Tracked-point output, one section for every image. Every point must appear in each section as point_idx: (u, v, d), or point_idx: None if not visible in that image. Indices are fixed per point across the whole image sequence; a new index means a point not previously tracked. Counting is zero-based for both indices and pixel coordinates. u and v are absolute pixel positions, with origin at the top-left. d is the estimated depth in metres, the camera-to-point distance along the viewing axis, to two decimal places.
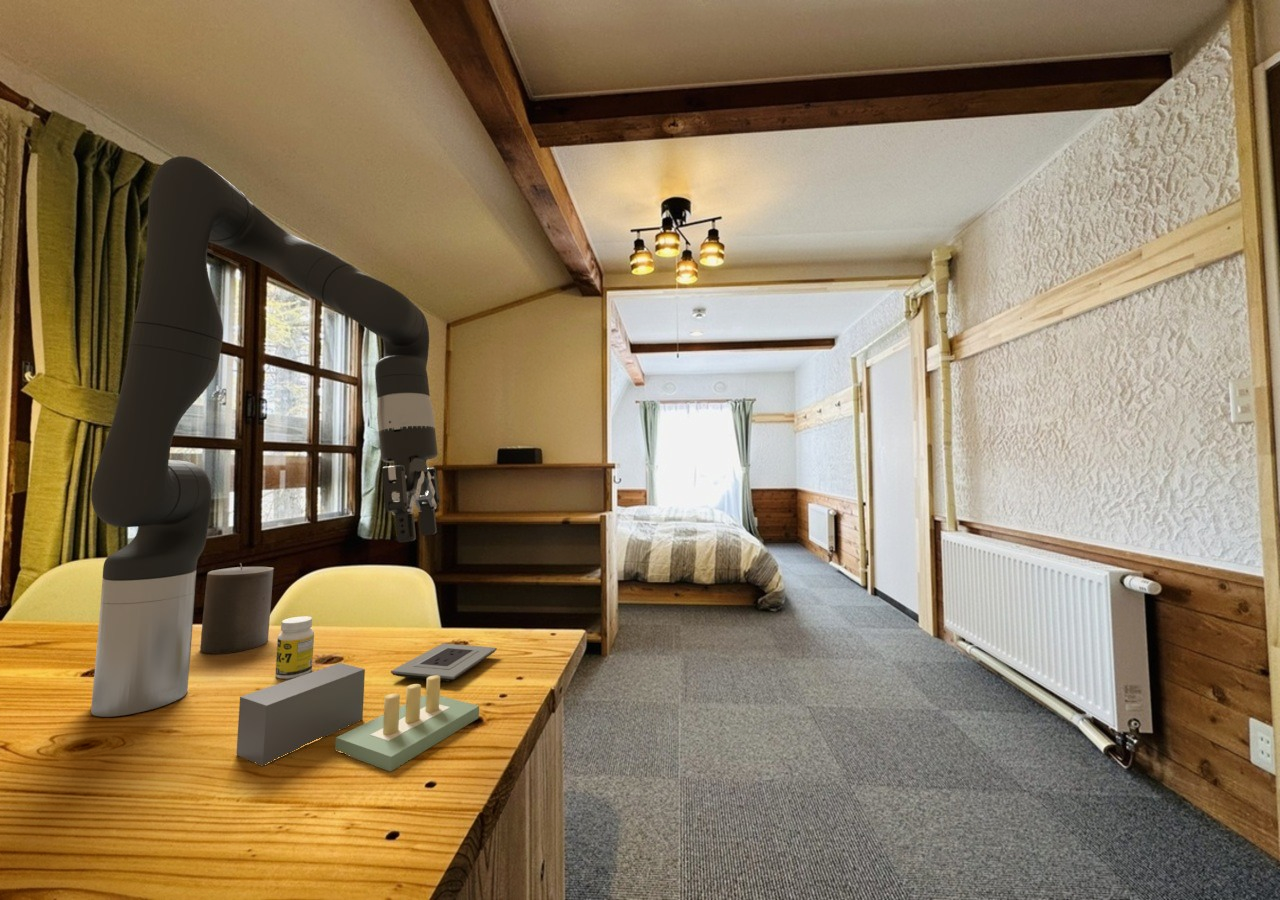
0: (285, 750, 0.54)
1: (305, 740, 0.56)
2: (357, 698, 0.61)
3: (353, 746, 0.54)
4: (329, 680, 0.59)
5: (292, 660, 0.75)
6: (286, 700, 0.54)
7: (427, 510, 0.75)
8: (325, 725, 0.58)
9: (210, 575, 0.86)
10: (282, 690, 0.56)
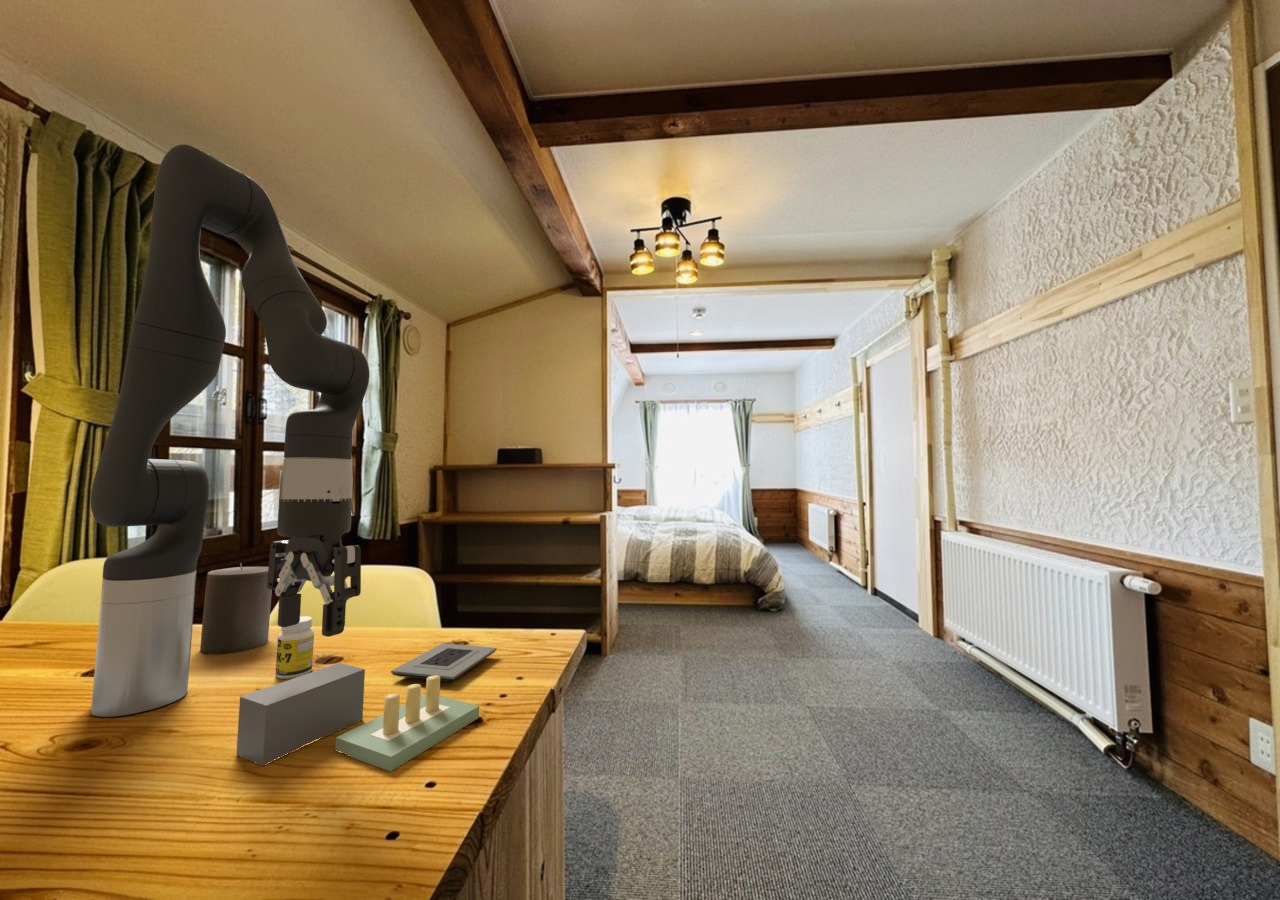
0: (285, 750, 0.54)
1: (305, 740, 0.56)
2: (357, 698, 0.61)
3: (353, 746, 0.54)
4: (329, 680, 0.59)
5: (292, 660, 0.75)
6: (286, 700, 0.54)
7: (293, 594, 0.61)
8: (325, 725, 0.58)
9: (210, 575, 0.86)
10: (282, 690, 0.56)
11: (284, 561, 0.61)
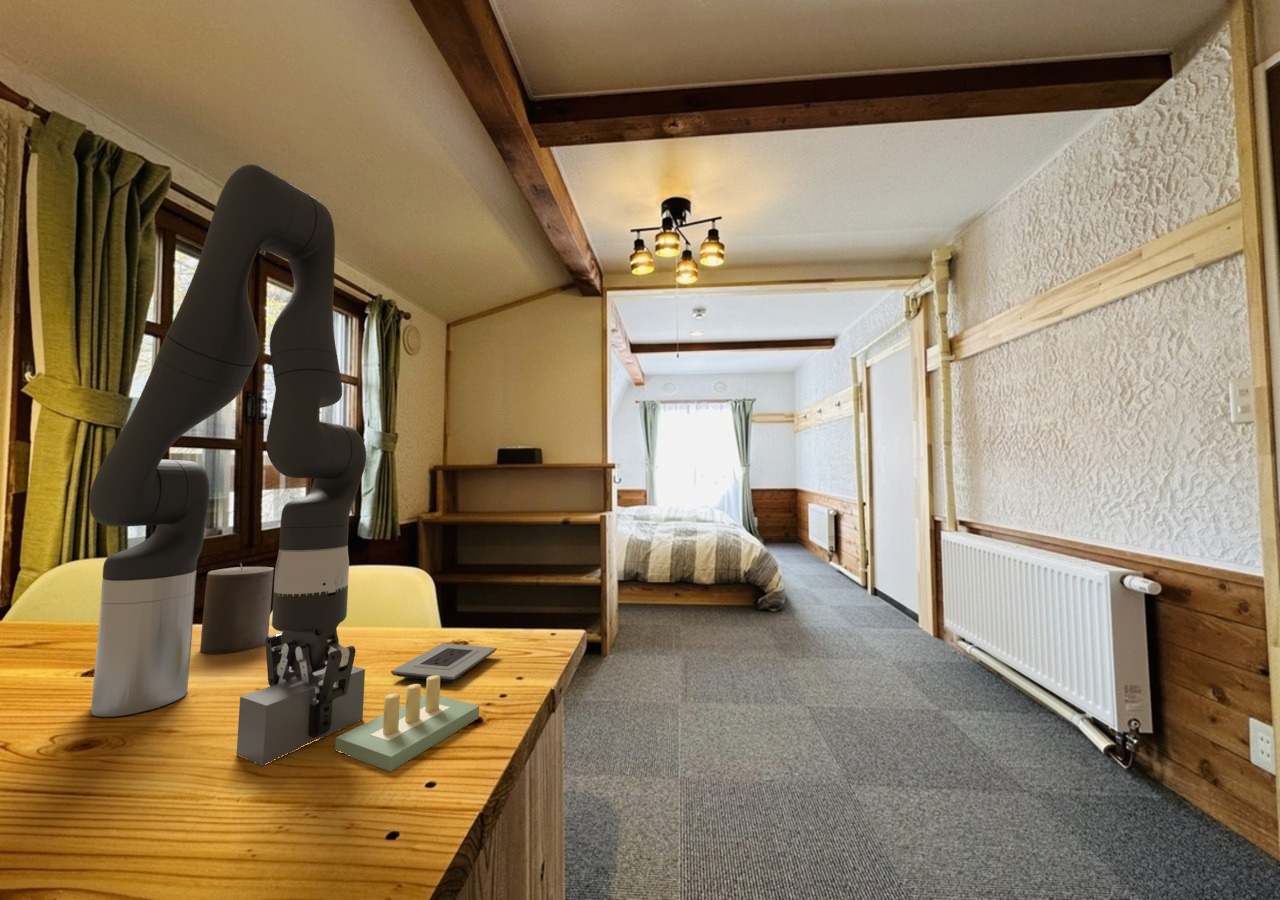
0: (285, 750, 0.54)
1: (305, 740, 0.56)
2: (357, 698, 0.61)
3: (353, 746, 0.54)
4: None
5: None
6: (286, 700, 0.54)
7: None
8: None
9: (210, 575, 0.86)
10: (282, 690, 0.56)
11: (282, 654, 0.60)
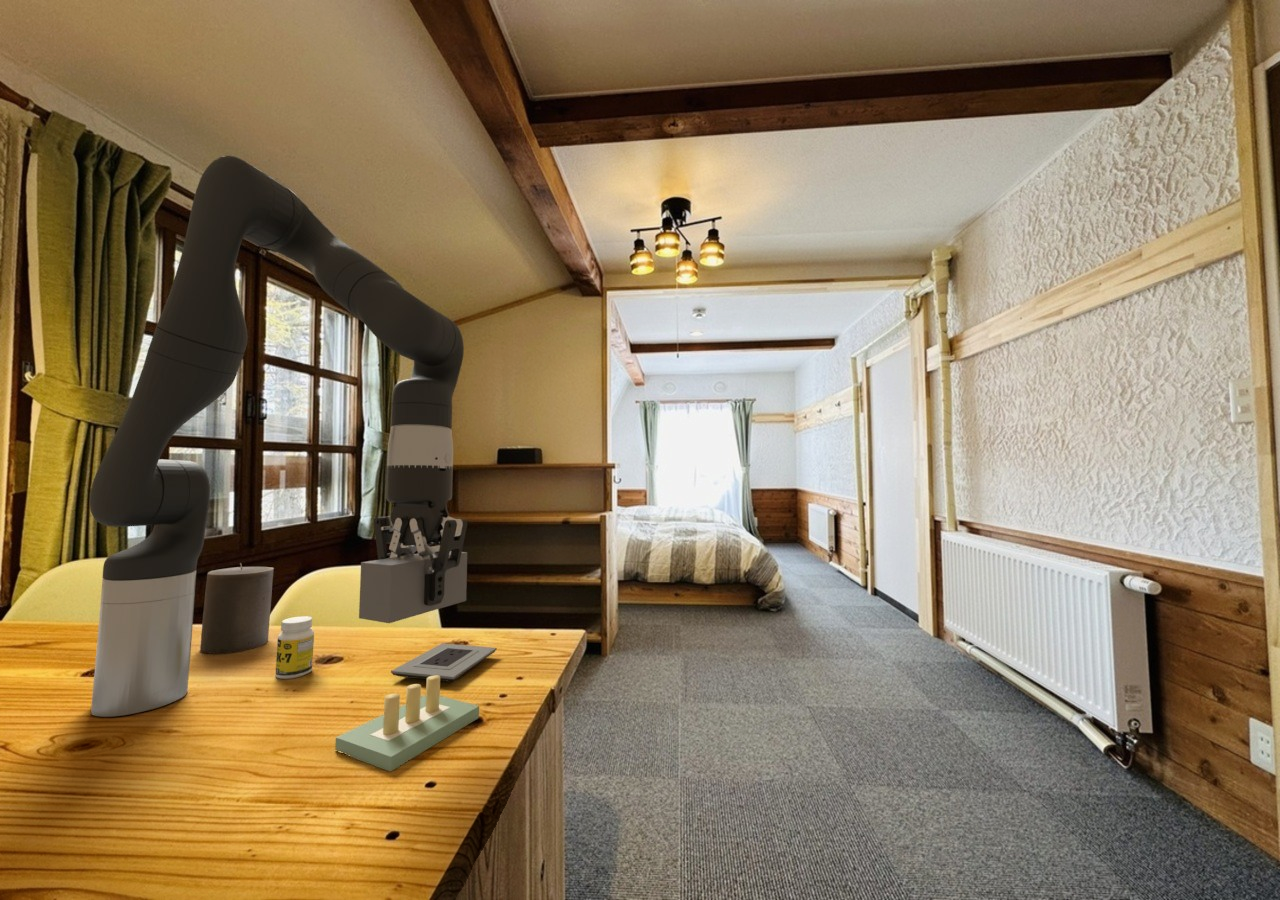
0: (406, 613, 0.55)
1: (421, 607, 0.57)
2: (461, 579, 0.63)
3: (353, 746, 0.54)
4: None
5: (292, 660, 0.75)
6: (406, 565, 0.56)
7: None
8: None
9: (210, 575, 0.86)
10: (398, 560, 0.57)
11: (389, 535, 0.62)
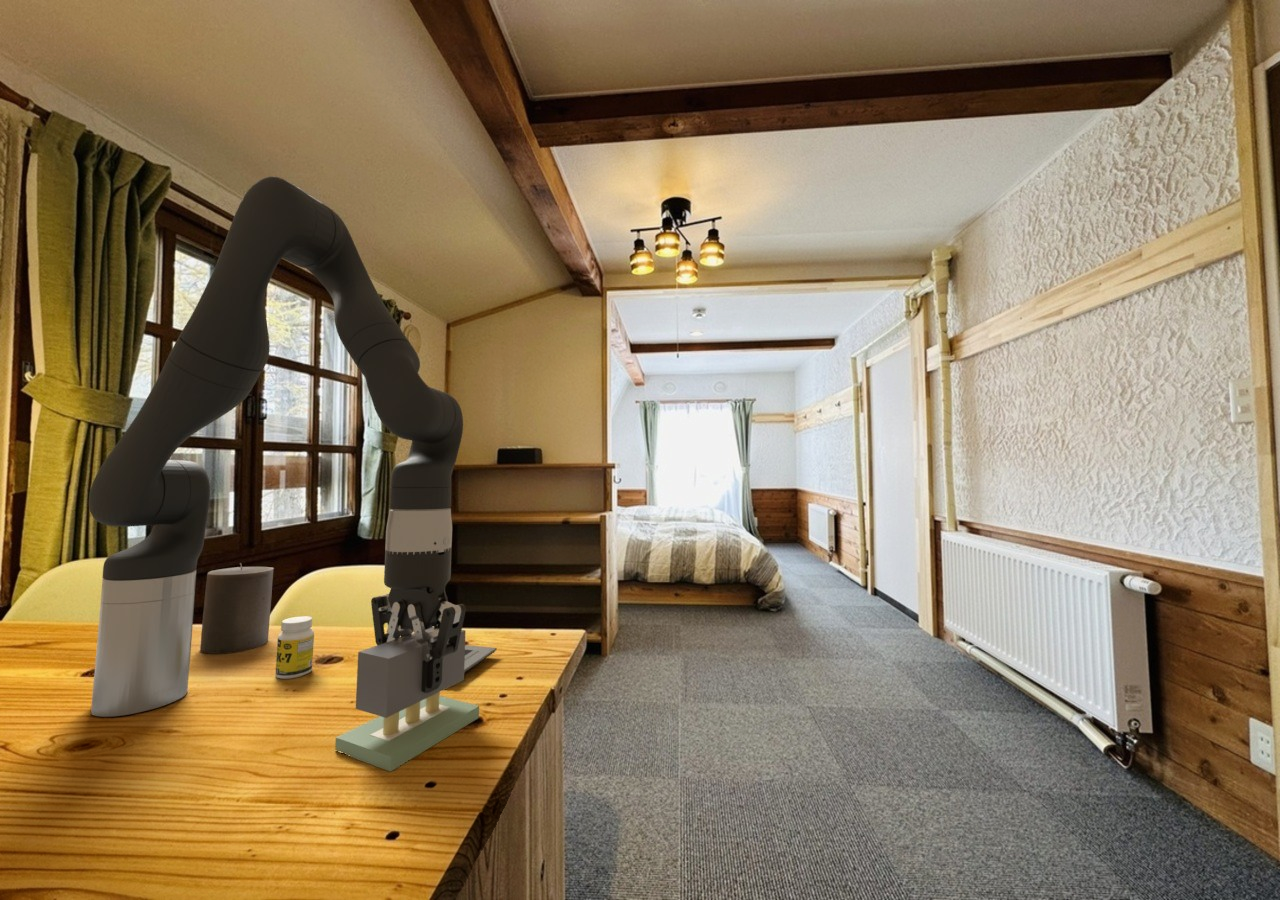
0: (403, 703, 0.55)
1: (419, 695, 0.57)
2: (459, 658, 0.63)
3: (353, 746, 0.54)
4: None
5: (292, 660, 0.75)
6: (404, 655, 0.55)
7: None
8: None
9: (210, 575, 0.86)
10: (396, 647, 0.57)
11: (387, 615, 0.62)
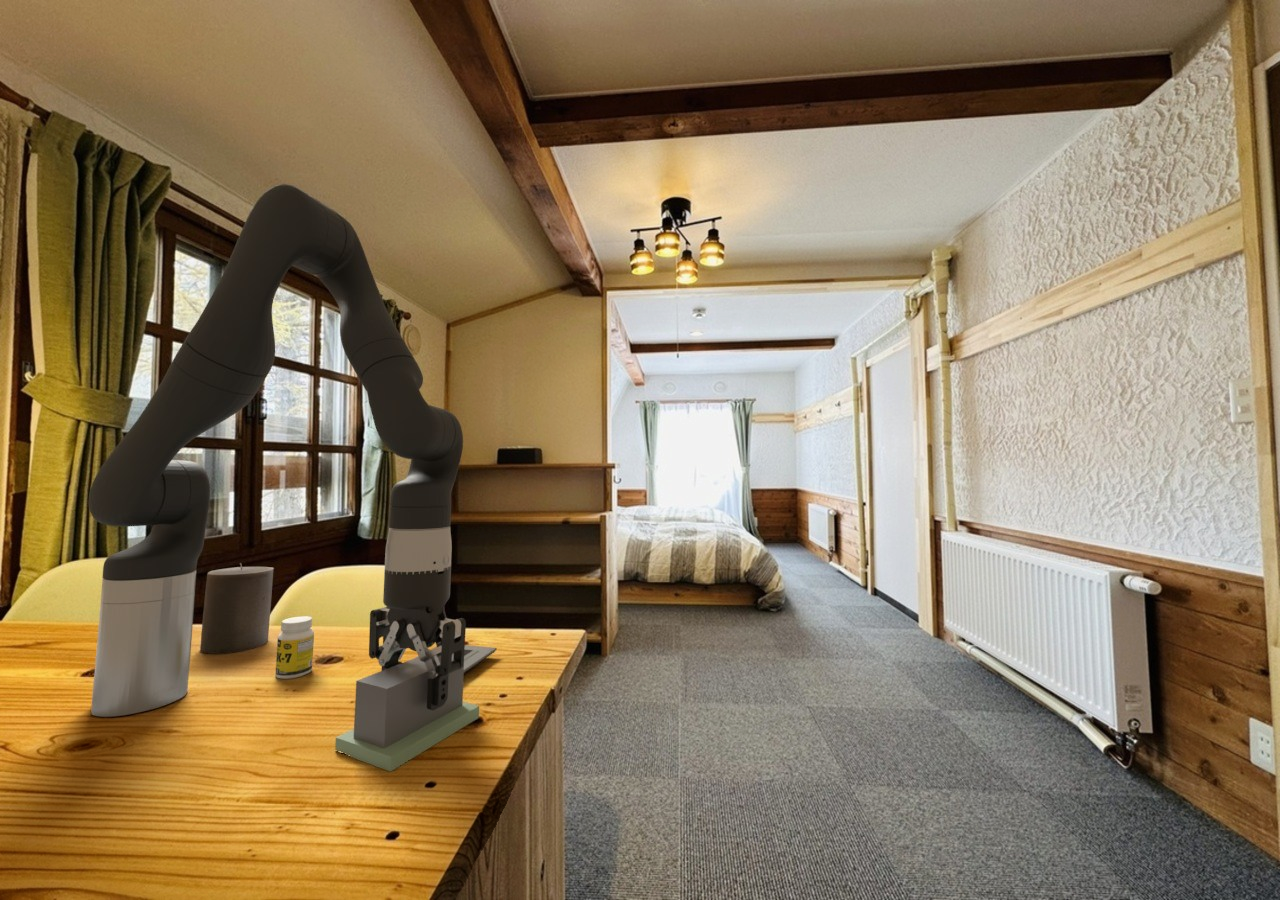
0: (401, 733, 0.55)
1: (417, 724, 0.57)
2: (458, 684, 0.62)
3: (353, 746, 0.54)
4: None
5: (292, 660, 0.75)
6: (402, 684, 0.55)
7: (395, 663, 0.61)
8: (433, 710, 0.59)
9: (210, 575, 0.86)
10: (394, 675, 0.57)
11: (384, 628, 0.62)
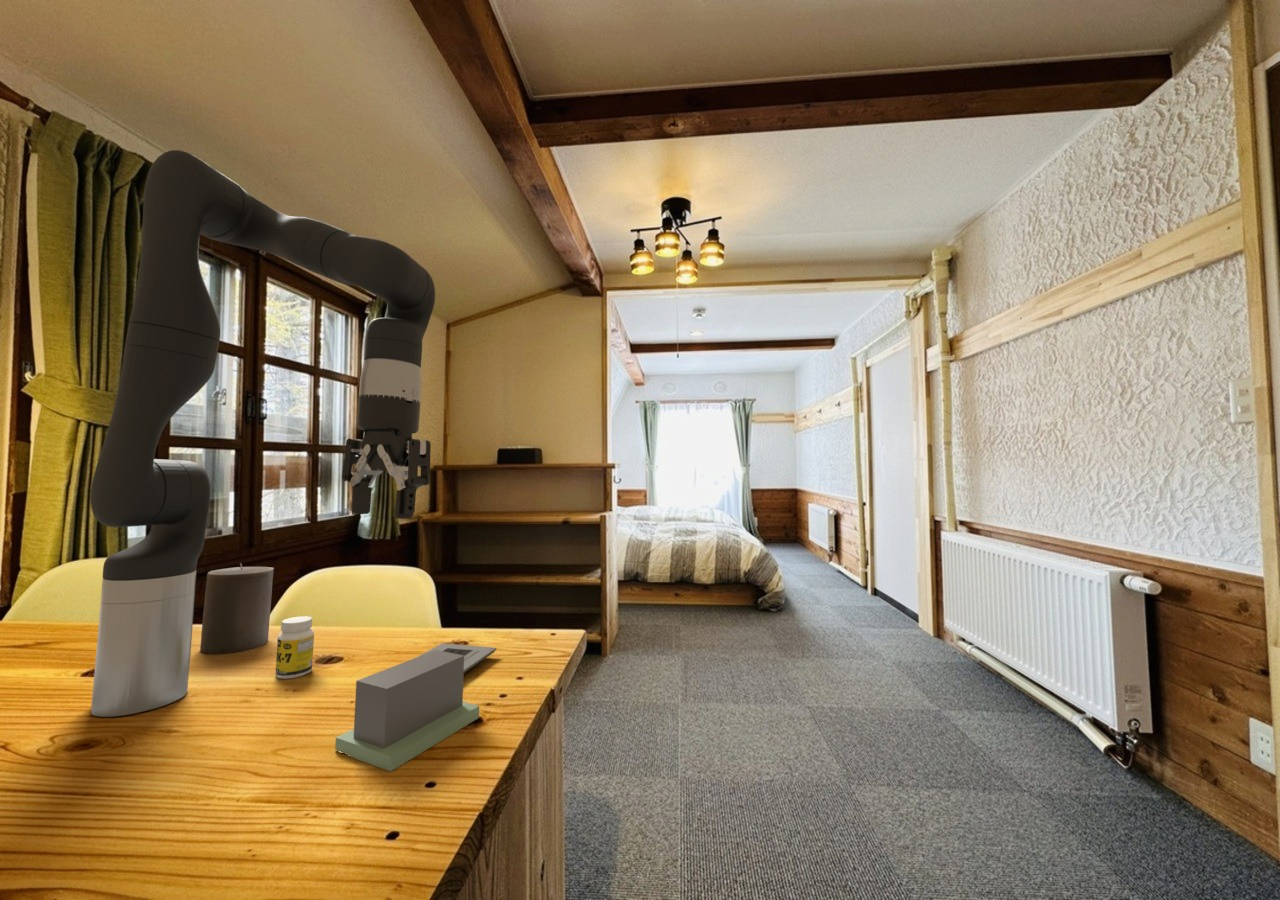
0: (401, 733, 0.55)
1: (417, 724, 0.57)
2: (458, 684, 0.62)
3: (353, 746, 0.54)
4: (435, 666, 0.60)
5: (292, 660, 0.75)
6: (402, 684, 0.55)
7: (365, 486, 0.67)
8: (433, 710, 0.59)
9: (210, 575, 0.86)
10: (394, 675, 0.57)
11: (357, 457, 0.68)
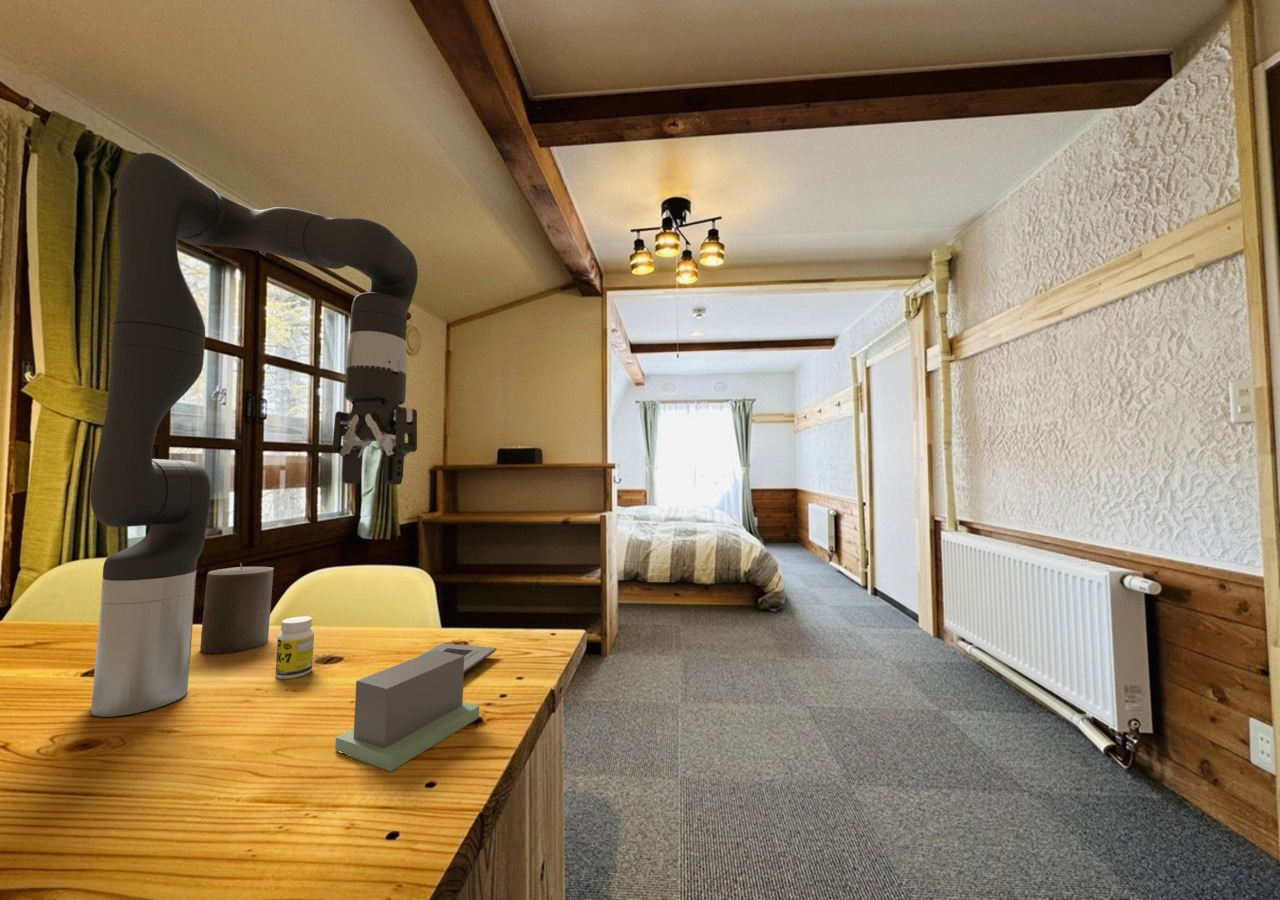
0: (401, 733, 0.55)
1: (417, 724, 0.57)
2: (458, 684, 0.62)
3: (353, 746, 0.54)
4: (435, 666, 0.60)
5: (292, 660, 0.75)
6: (402, 684, 0.55)
7: (355, 457, 0.70)
8: (433, 710, 0.59)
9: (210, 575, 0.86)
10: (394, 675, 0.57)
11: (347, 429, 0.70)
